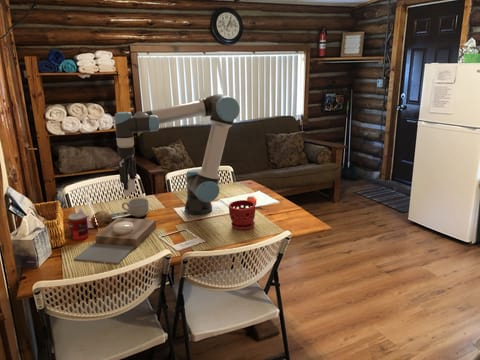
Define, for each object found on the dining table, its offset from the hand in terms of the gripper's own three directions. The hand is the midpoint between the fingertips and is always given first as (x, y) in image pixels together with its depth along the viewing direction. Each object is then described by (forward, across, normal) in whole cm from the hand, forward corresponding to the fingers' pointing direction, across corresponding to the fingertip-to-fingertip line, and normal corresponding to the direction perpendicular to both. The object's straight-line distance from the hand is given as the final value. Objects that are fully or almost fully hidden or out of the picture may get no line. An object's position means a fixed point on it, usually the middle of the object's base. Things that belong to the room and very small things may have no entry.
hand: (130, 193), depth 187 cm
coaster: (+15, +10, 0) cm, 18 cm away
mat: (+19, +26, -1) cm, 32 cm away
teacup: (+19, -18, -7) cm, 27 cm away
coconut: (+19, -6, -20) cm, 28 cm away
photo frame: (+19, +6, +27) cm, 34 cm away
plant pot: (+19, -14, +52) cm, 57 cm away
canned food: (+19, +12, -21) cm, 31 cm away
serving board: (+19, +6, 0) cm, 20 cm away
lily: (+19, +4, -25) cm, 32 cm away
